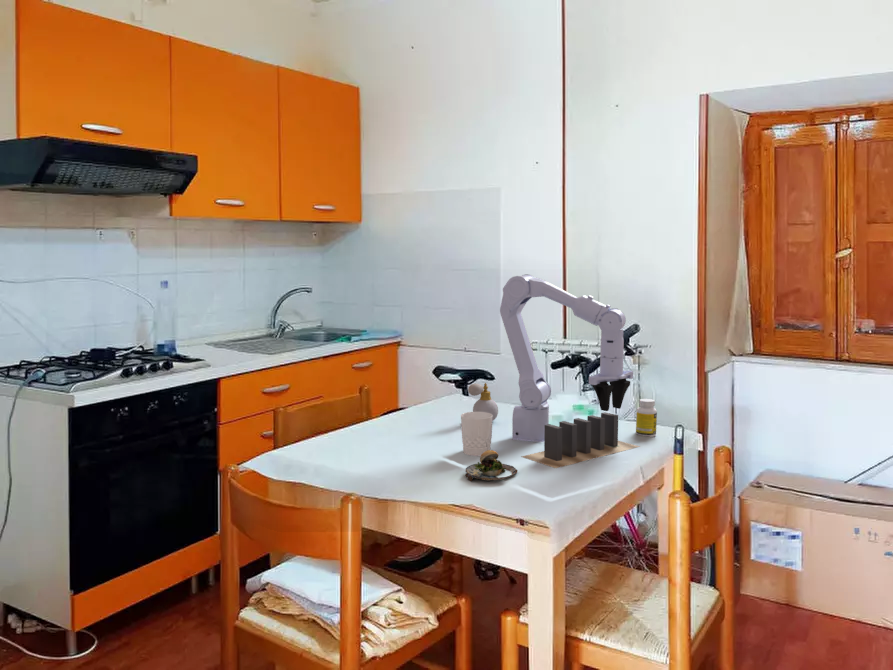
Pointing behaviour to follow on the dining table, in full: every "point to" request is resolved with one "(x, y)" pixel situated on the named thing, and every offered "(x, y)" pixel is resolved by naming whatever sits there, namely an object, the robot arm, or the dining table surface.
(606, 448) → the oak board
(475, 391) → the perfume bottle
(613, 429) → the domino
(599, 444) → the domino
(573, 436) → the domino
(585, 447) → the domino
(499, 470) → the burger
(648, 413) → the supplement bottle
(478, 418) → the white cup
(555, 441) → the domino
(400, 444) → the dining table surface
